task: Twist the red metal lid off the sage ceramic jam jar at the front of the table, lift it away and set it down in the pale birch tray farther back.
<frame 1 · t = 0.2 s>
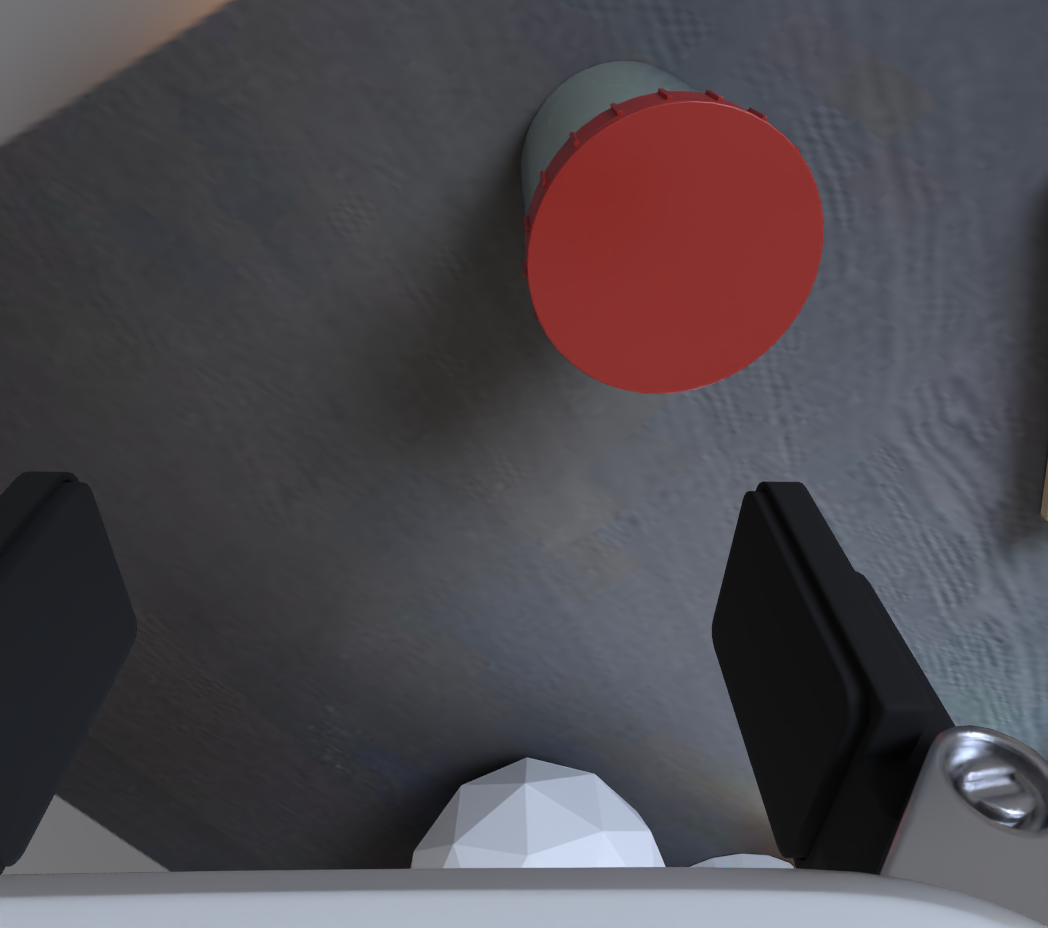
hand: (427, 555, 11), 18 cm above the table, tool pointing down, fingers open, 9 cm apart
french press: (733, 895, 53), on the table
geodesic sphere: (532, 784, 45), on the table
jar lid: (672, 259, 18), point 9 cm above the table, screwed on, not yet turned
jam jar: (616, 169, 26), on the table
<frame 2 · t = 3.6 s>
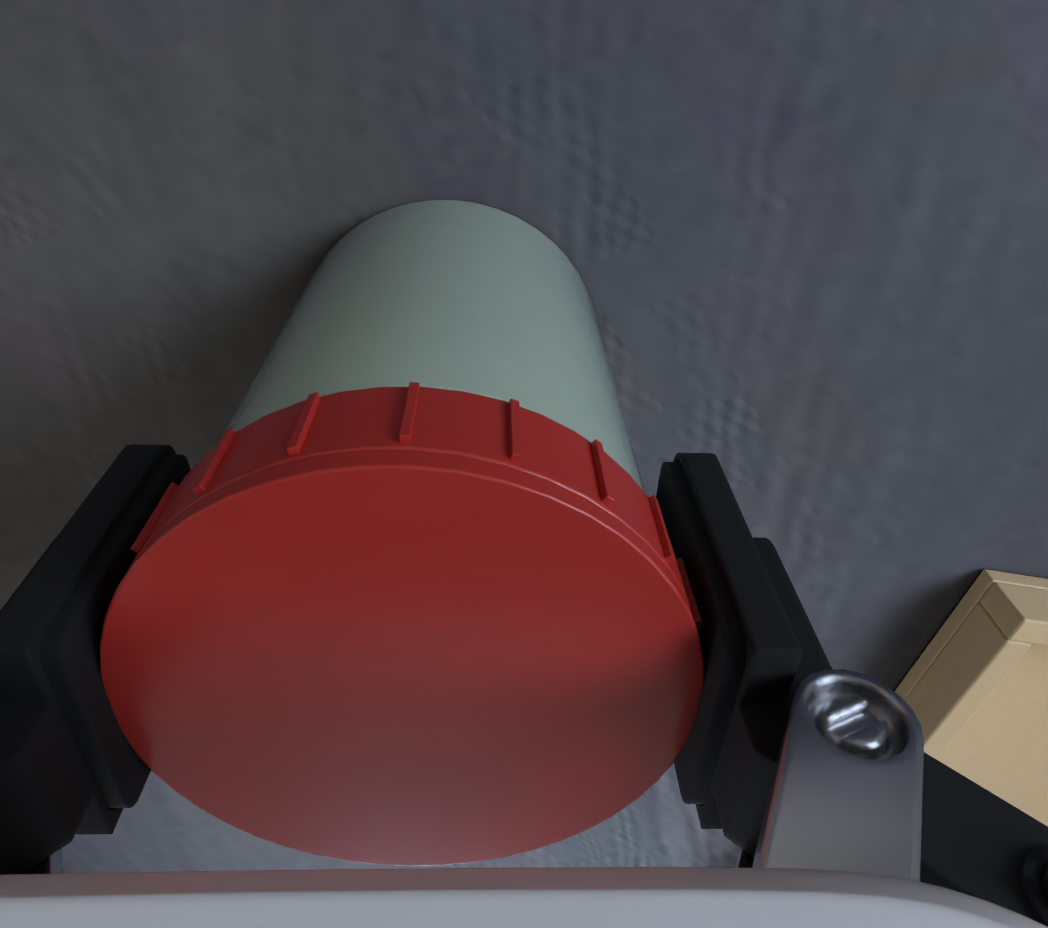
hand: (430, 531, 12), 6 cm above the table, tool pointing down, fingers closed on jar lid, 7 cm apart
tray: (1015, 767, 27), on the table
jar lid: (412, 689, 9), point 9 cm above the table, screwed on, not yet turned, touching gripper
jam jar: (450, 349, 17), on the table
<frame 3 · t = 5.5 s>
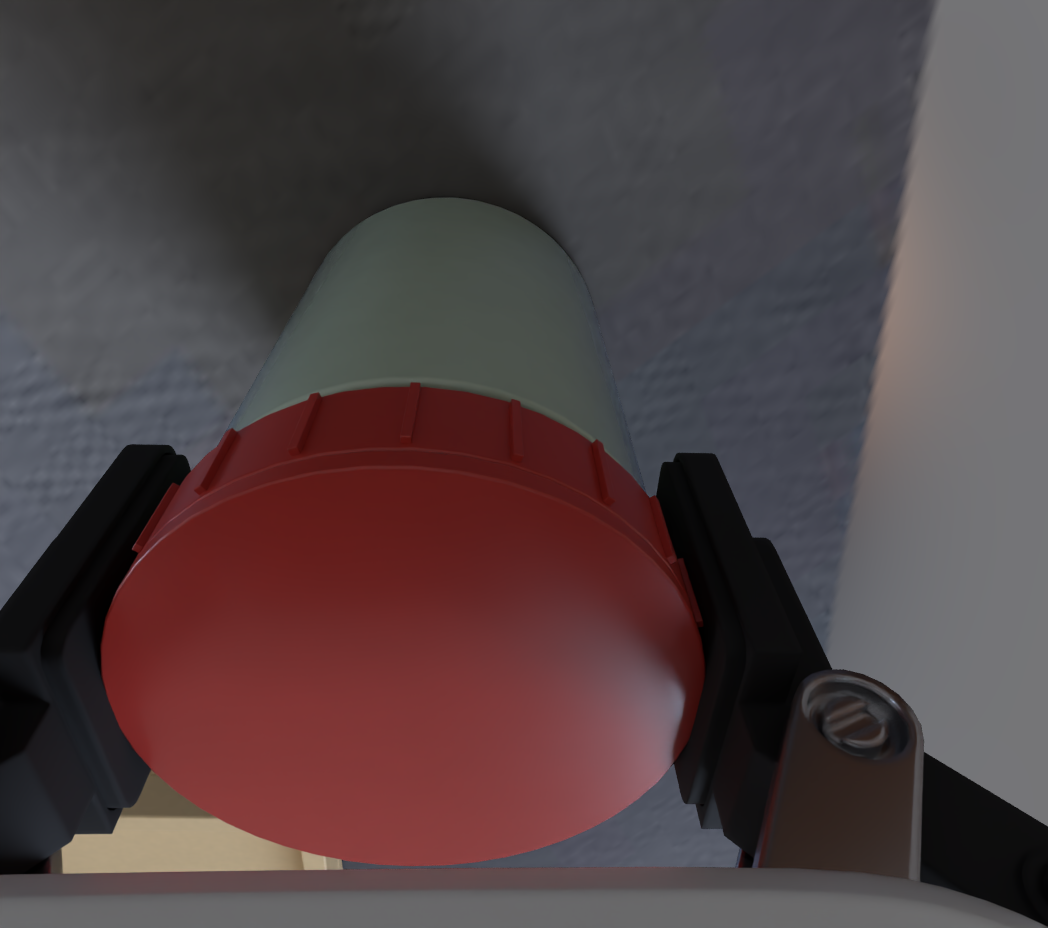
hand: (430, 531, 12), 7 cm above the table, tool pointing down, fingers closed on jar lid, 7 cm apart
tray: (119, 861, 29), on the table
jar lid: (413, 689, 9), point 10 cm above the table, turned 82° so far, risen 0.2 cm, still on its thread, touching gripper
jam jar: (452, 345, 17), on the table
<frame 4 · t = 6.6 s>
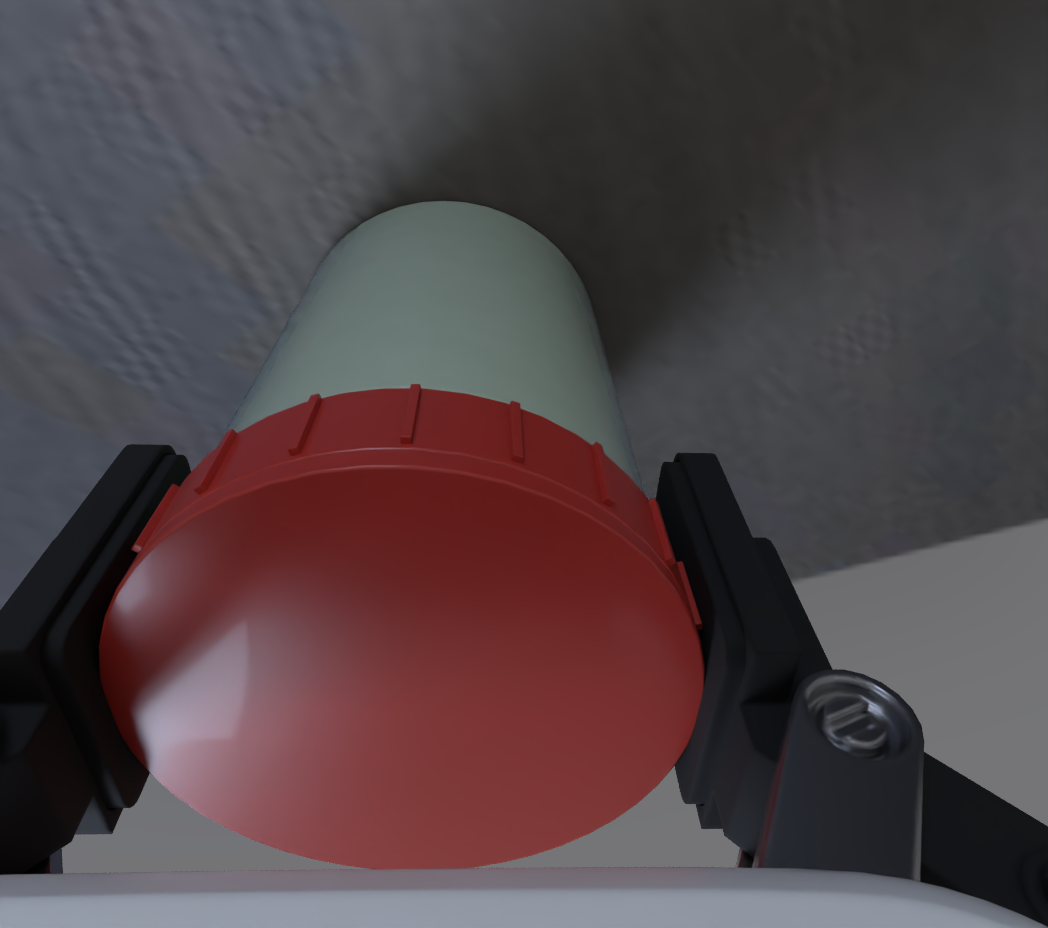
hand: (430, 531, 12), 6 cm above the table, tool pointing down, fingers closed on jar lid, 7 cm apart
jar lid: (412, 692, 9), point 10 cm above the table, off its thread, touching gripper
jam jar: (450, 350, 17), on the table
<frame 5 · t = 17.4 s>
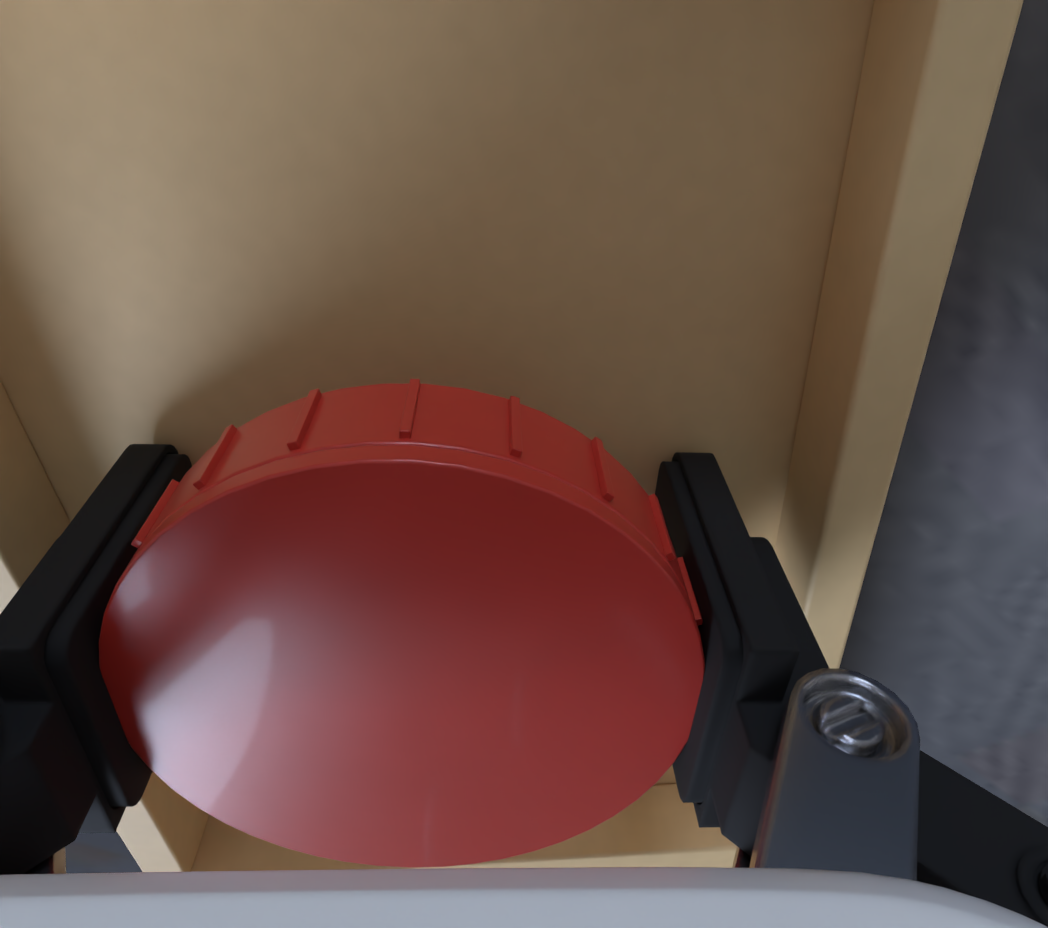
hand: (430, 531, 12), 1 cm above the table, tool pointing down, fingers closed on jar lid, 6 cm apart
tray: (432, 494, 12), on the table
jar lid: (412, 687, 9), point 4 cm above the table, off its thread, touching gripper
when the fingers open (2 cm above the table, at t = 27.1 s): jar lid drops 3 cm, resting on tray.
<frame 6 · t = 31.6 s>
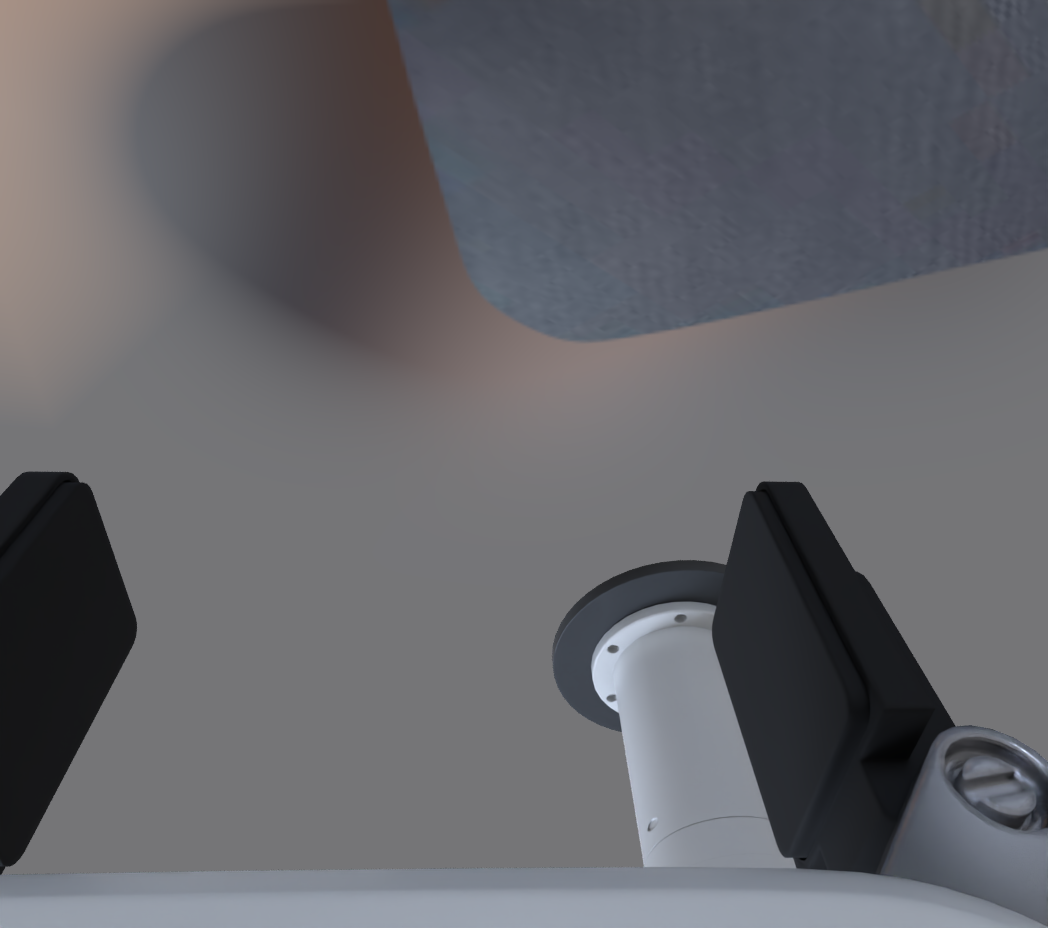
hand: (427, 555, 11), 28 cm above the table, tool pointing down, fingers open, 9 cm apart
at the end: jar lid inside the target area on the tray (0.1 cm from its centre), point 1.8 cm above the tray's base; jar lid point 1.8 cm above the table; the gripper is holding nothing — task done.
